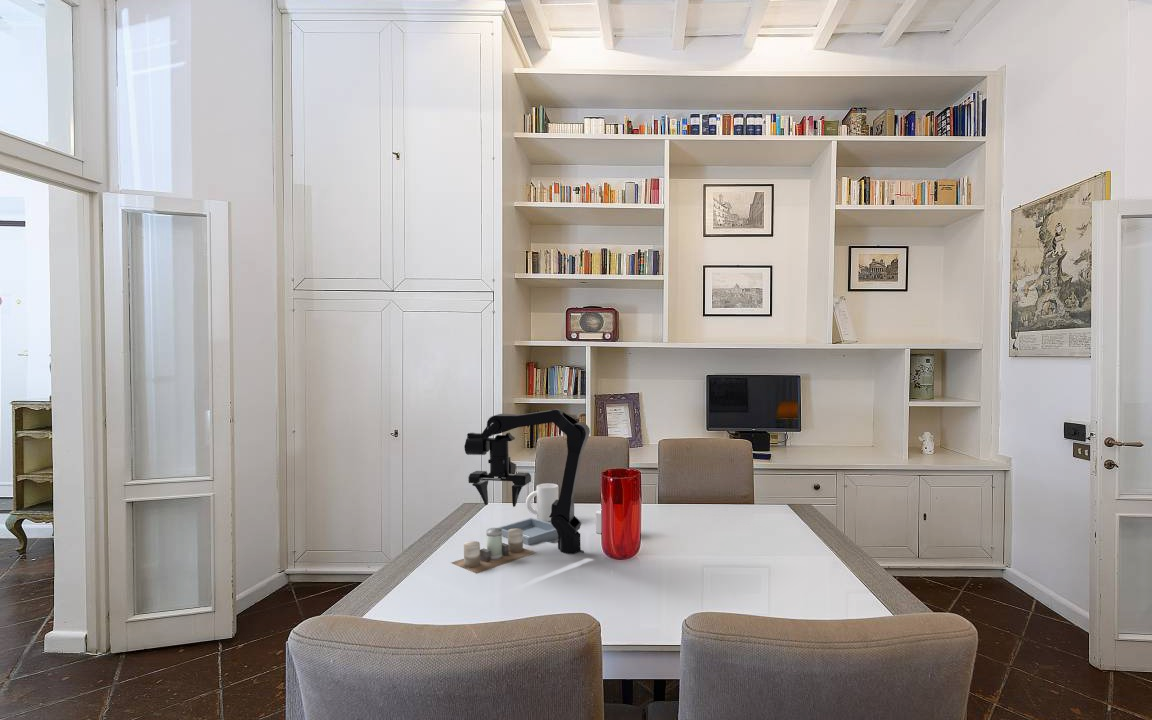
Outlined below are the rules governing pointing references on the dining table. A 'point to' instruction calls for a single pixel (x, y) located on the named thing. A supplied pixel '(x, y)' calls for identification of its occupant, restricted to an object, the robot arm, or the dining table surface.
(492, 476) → the robot arm
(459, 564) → the fuse rack
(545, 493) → the mug
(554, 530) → the tray
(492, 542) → the cylinder
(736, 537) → the dining table surface
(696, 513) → the dining table surface
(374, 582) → the dining table surface
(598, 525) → the medicine bottle
